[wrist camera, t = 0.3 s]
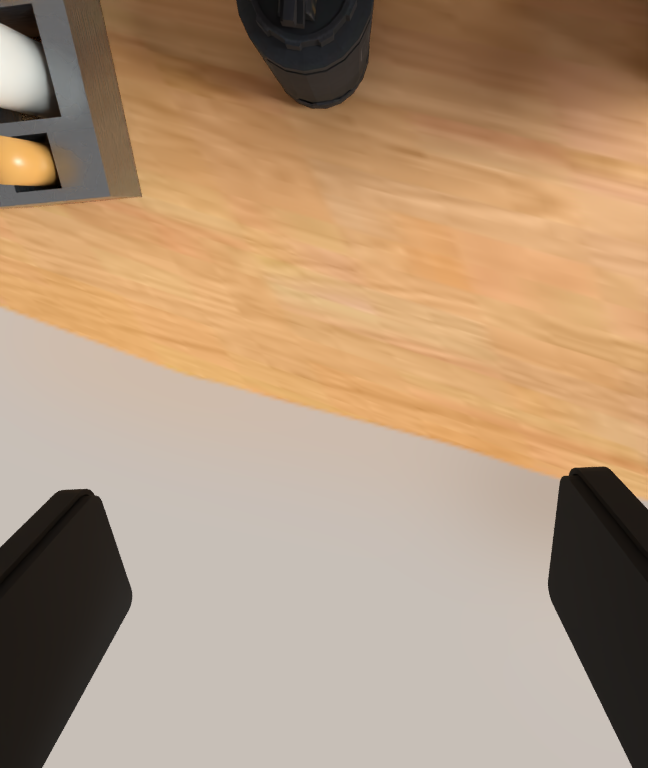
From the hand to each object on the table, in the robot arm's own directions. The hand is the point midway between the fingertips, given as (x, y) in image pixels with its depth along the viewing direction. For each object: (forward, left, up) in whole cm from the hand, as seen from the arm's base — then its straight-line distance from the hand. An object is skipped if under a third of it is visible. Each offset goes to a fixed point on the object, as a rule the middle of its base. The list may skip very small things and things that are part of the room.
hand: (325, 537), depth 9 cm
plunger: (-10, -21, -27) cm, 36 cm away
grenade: (-16, -1, -31) cm, 34 cm away
